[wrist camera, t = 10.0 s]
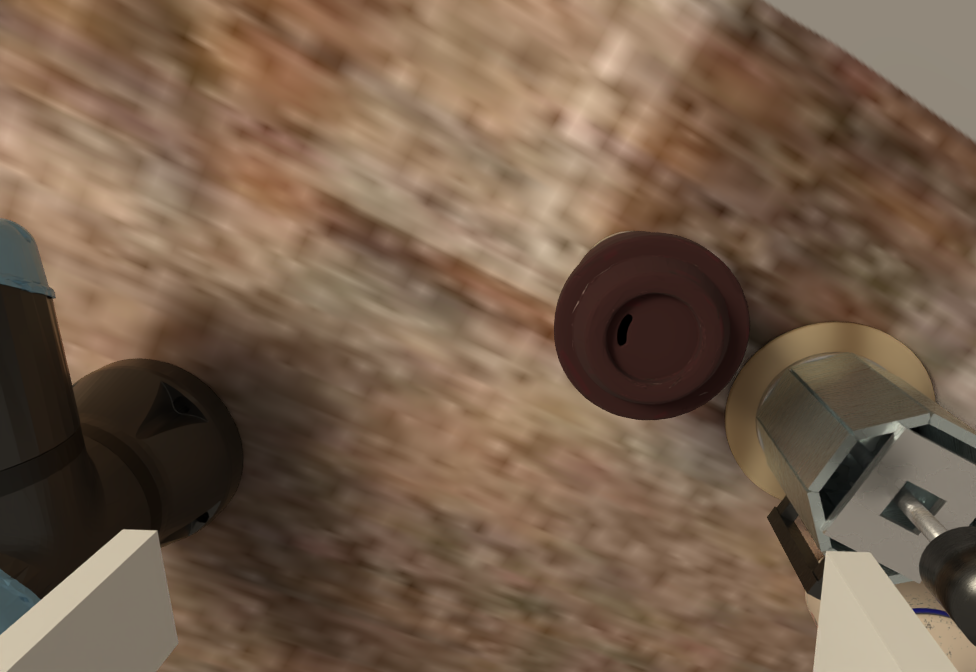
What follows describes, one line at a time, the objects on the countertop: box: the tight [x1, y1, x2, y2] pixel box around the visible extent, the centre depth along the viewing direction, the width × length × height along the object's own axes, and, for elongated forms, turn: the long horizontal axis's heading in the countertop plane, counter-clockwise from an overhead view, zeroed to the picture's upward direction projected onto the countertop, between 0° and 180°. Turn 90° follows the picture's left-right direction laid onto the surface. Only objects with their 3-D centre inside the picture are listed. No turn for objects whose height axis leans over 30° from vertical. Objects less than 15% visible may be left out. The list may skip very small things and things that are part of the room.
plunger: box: [823, 432, 976, 646], centre depth 37 cm, size 8×8×19 cm
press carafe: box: [755, 352, 976, 600], centre depth 43 cm, size 10×13×12 cm
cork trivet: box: [725, 321, 935, 500], centre depth 49 cm, size 14×14×1 cm
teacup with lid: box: [805, 556, 976, 672], centre depth 47 cm, size 12×9×12 cm
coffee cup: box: [554, 231, 750, 420], centre depth 41 cm, size 10×10×15 cm
